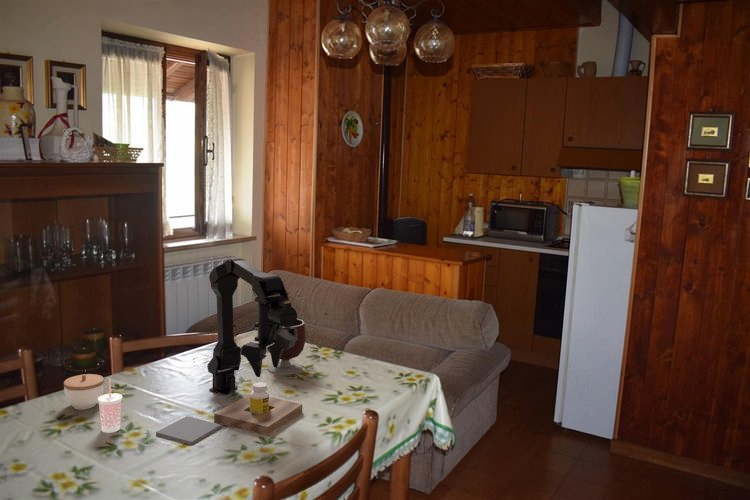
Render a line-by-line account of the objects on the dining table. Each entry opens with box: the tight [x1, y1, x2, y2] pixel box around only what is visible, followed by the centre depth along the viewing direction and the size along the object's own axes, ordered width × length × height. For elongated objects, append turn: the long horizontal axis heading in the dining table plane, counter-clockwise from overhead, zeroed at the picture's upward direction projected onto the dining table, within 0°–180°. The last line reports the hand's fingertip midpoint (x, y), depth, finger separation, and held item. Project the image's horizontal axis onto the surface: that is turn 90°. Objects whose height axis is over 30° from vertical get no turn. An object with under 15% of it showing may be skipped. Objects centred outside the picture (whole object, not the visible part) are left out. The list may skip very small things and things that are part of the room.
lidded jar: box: [63, 373, 105, 410], centre depth 183 cm, size 11×11×9 cm
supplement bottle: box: [249, 381, 270, 415], centre depth 180 cm, size 5×5×10 cm
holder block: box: [213, 393, 303, 436], centre depth 180 cm, size 18×18×2 cm
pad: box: [155, 415, 222, 446], centre depth 170 cm, size 12×12×1 cm
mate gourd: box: [267, 318, 306, 376], centre depth 220 cm, size 16×14×20 cm
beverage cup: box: [97, 378, 123, 434], centre depth 168 cm, size 6×6×14 cm
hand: (267, 372), depth 180 cm, fingers open, 9 cm apart
